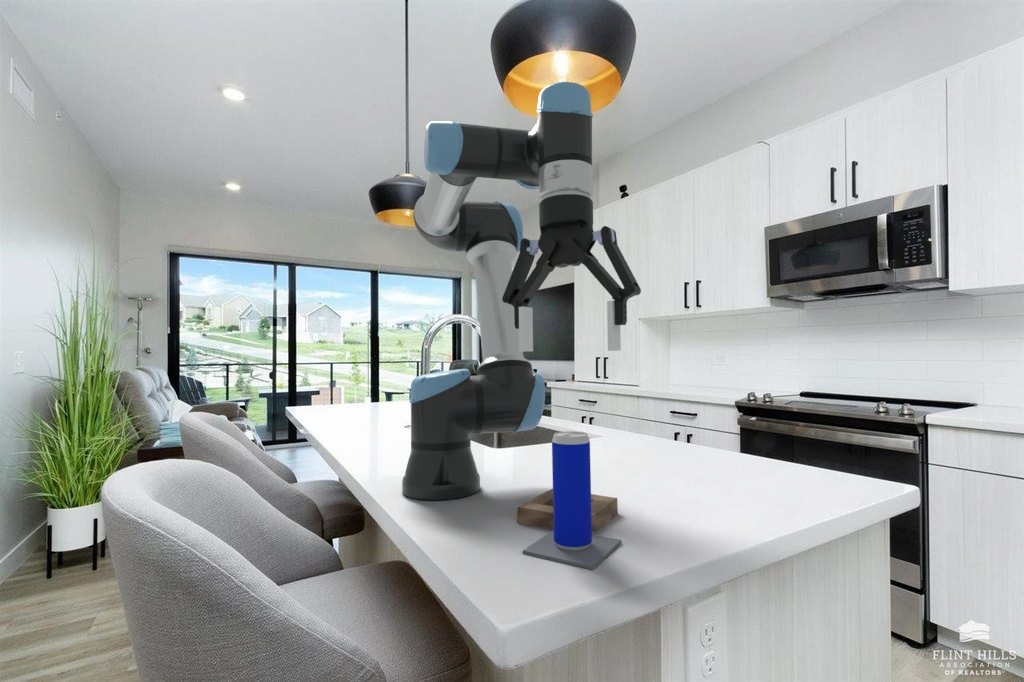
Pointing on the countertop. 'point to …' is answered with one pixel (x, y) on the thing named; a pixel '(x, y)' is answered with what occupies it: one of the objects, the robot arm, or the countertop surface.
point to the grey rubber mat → (581, 558)
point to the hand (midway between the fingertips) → (568, 351)
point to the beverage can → (571, 490)
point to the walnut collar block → (542, 510)
